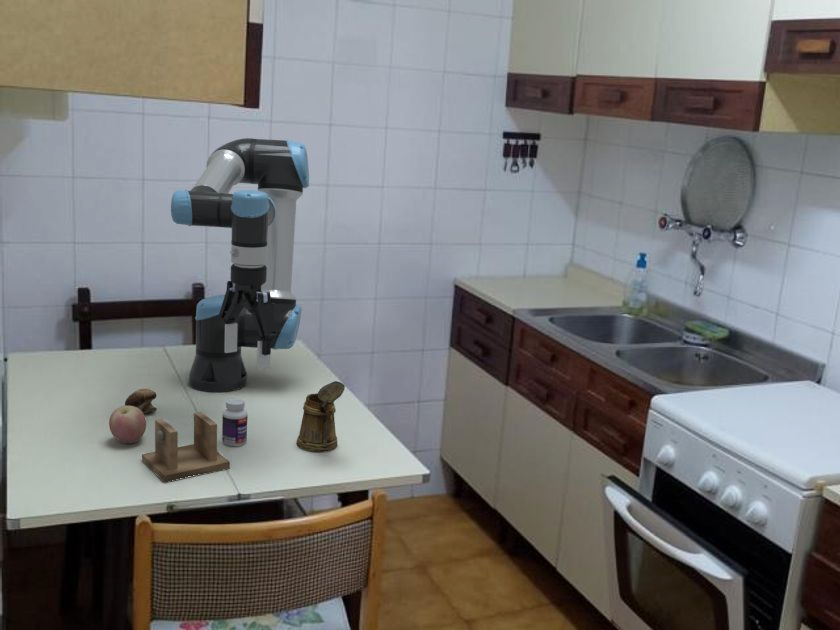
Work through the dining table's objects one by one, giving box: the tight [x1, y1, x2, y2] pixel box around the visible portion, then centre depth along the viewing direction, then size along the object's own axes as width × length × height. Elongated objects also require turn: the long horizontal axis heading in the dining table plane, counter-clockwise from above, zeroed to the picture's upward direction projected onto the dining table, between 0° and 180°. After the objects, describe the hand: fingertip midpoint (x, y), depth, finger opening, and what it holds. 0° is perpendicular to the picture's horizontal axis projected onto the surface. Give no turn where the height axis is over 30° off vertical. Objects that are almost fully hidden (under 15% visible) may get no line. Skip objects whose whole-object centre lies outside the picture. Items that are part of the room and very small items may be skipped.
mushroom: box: [124, 388, 157, 414], centre depth 211 cm, size 8×8×6 cm
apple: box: [108, 405, 147, 445], centre depth 193 cm, size 8×8×8 cm
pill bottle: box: [221, 397, 248, 447], centre depth 196 cm, size 5×5×10 cm
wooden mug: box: [296, 380, 346, 453], centre depth 195 cm, size 9×14×18 cm, turn 27°
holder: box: [141, 411, 231, 483], centre depth 183 cm, size 12×14×10 cm
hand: (246, 360), depth 193 cm, fingers open, 13 cm apart
